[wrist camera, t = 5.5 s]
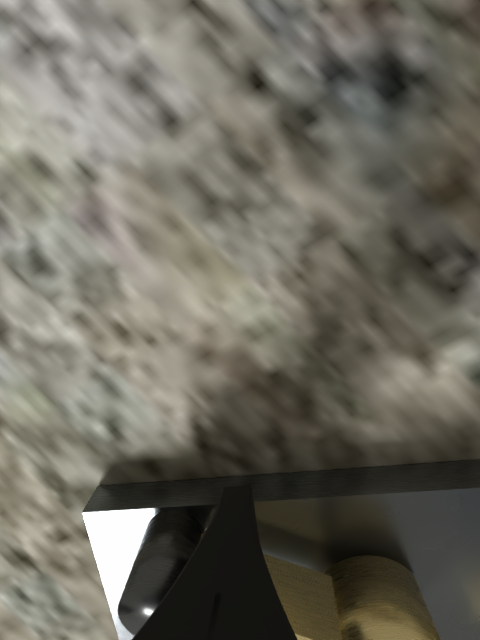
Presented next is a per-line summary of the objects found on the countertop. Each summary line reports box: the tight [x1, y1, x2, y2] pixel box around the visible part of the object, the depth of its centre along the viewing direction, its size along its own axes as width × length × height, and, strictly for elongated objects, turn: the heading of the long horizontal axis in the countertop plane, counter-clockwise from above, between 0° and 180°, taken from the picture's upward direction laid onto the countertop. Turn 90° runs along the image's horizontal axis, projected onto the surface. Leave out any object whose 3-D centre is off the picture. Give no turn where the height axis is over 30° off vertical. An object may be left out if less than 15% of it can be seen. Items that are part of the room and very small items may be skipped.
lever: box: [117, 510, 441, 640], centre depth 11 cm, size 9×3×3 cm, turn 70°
